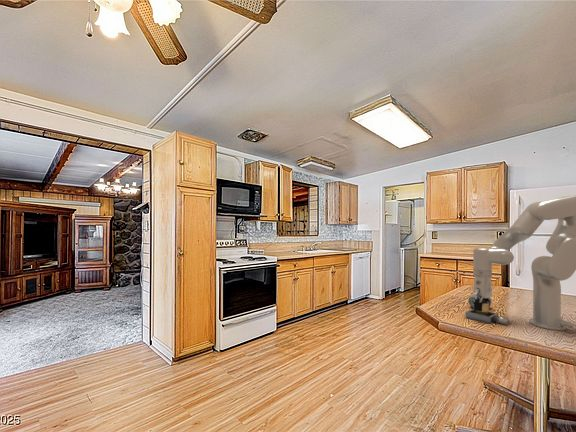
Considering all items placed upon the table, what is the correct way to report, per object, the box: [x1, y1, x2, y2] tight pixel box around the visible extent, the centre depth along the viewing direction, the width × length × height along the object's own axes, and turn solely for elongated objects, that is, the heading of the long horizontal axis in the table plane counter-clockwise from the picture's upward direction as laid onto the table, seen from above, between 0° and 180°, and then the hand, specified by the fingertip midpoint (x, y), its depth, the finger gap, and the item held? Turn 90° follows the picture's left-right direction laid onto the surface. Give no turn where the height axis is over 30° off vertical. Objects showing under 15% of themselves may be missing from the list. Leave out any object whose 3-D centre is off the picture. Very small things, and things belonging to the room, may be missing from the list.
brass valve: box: [476, 299, 490, 317], centre depth 141 cm, size 5×5×8 cm
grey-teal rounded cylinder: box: [467, 293, 492, 309], centre depth 160 cm, size 14×10×10 cm
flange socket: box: [465, 308, 510, 326], centre depth 139 cm, size 16×10×3 cm
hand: (481, 308), depth 141 cm, fingers open, 9 cm apart
